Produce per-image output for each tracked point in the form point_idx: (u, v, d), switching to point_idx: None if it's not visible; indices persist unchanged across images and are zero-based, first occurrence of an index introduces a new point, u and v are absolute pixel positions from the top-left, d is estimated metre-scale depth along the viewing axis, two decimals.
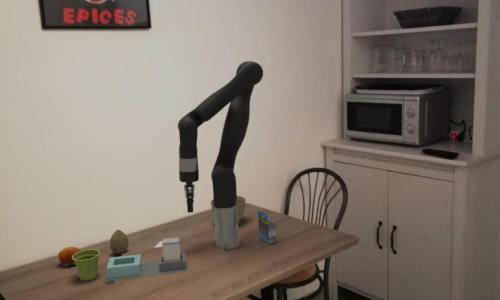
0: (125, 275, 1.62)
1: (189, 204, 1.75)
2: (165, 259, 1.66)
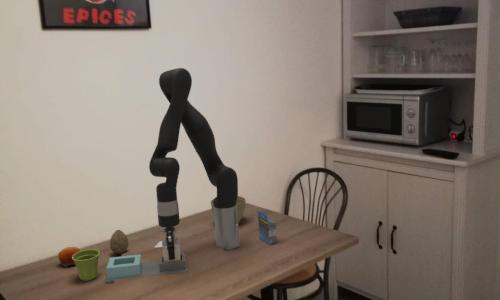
0: (125, 275, 1.62)
1: (170, 251, 1.64)
2: (165, 259, 1.66)
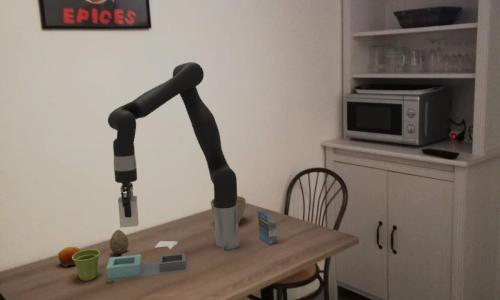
0: (125, 275, 1.62)
1: (126, 208, 1.59)
2: (121, 217, 1.60)
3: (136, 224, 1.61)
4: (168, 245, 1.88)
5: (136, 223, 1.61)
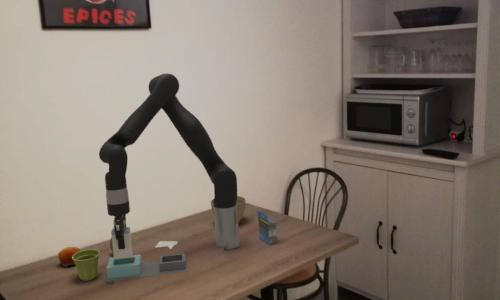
0: (125, 275, 1.62)
1: (119, 240, 1.60)
2: (114, 249, 1.62)
3: (130, 255, 1.63)
4: (168, 245, 1.88)
5: (130, 254, 1.63)
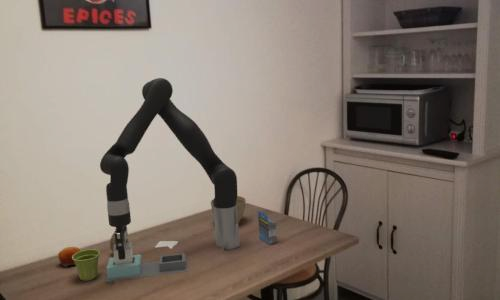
0: (125, 275, 1.62)
1: (120, 251, 1.59)
2: (116, 264, 1.63)
3: None
4: (168, 245, 1.89)
5: None
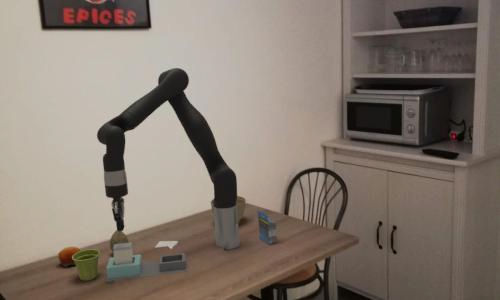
0: (125, 275, 1.62)
1: (118, 222, 1.60)
2: (116, 264, 1.63)
3: None
4: (168, 245, 1.89)
5: None
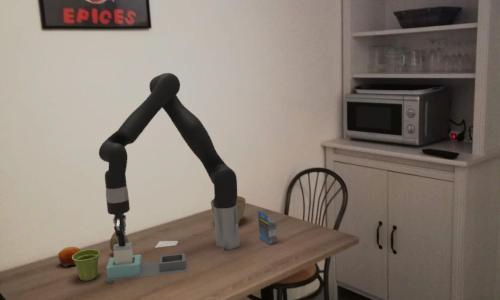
0: (125, 275, 1.62)
1: (120, 237, 1.62)
2: (116, 264, 1.63)
3: None
4: (169, 245, 1.89)
5: None
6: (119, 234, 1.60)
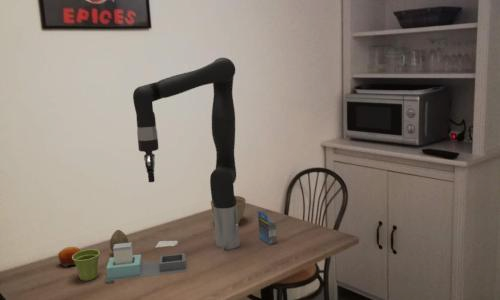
0: (125, 275, 1.62)
1: (150, 174, 1.78)
2: (116, 264, 1.63)
3: None
4: (169, 244, 1.89)
5: None
6: (149, 170, 1.76)
